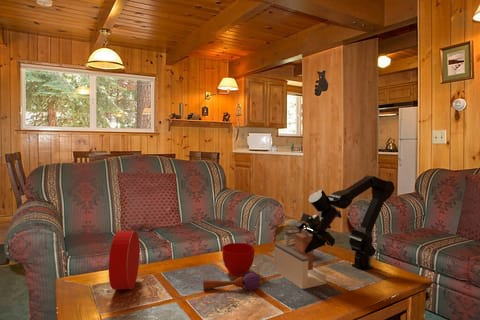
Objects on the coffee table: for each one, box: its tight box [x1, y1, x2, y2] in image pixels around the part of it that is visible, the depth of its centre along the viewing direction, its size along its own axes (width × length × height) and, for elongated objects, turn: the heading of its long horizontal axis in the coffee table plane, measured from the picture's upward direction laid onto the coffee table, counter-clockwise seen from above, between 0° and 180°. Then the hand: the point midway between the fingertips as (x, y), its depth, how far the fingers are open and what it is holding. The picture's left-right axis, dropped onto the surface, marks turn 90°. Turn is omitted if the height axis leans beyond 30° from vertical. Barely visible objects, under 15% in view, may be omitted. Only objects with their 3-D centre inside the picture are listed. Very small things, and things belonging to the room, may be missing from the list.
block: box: [294, 230, 314, 270], centre depth 130 cm, size 5×5×15 cm
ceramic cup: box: [221, 242, 256, 276], centre depth 138 cm, size 13×17×10 cm
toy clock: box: [108, 230, 140, 290], centre depth 121 cm, size 20×6×20 cm, turn 5°
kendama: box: [202, 272, 261, 291], centre depth 121 cm, size 6×6×20 cm
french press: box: [283, 199, 300, 251], centre depth 162 cm, size 10×12×25 cm
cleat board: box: [273, 242, 327, 290], centre depth 132 cm, size 11×19×11 cm, turn 26°
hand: (301, 250), depth 129 cm, fingers closed on block, 5 cm apart
